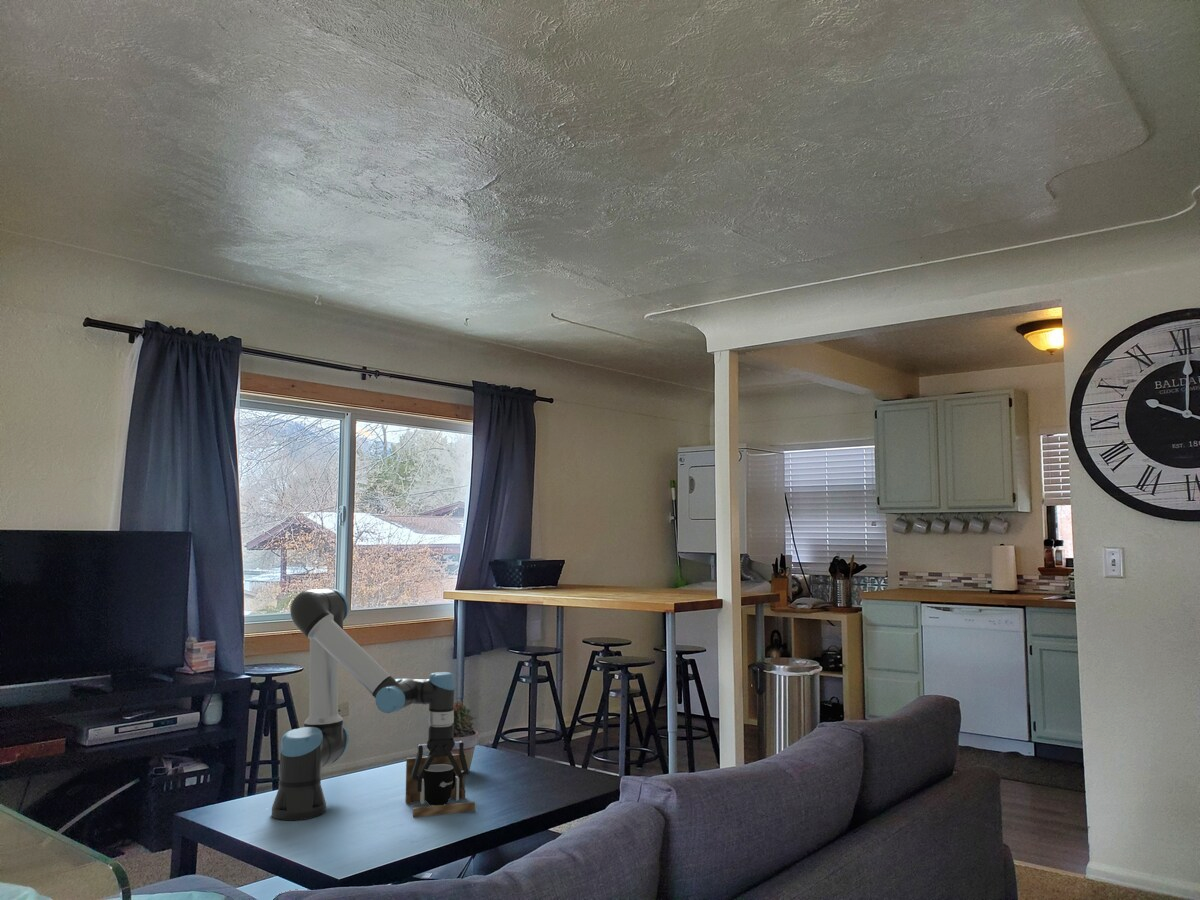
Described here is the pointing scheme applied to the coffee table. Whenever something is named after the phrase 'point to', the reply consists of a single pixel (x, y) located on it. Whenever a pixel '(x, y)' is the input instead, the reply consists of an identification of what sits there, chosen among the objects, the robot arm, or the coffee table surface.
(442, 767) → the mug
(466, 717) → the potted plant
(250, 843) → the coffee table surface
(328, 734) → the robot arm
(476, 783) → the coffee table surface
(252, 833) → the coffee table surface
